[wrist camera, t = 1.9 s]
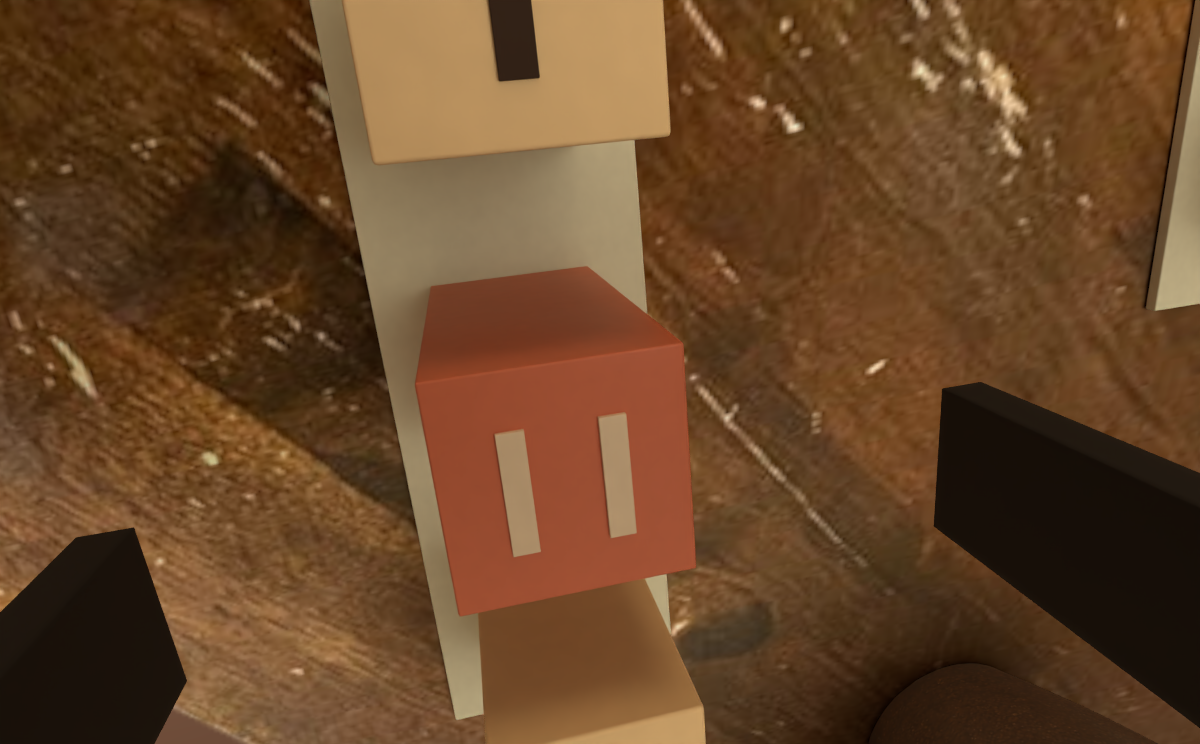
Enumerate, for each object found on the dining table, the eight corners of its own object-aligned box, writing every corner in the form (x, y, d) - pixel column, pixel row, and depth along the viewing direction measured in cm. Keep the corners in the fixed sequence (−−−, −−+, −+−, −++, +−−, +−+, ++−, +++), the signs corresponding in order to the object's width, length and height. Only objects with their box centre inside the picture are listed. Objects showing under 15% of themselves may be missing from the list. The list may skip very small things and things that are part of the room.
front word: (280, -152, 16) (75, -520, 7) (608, -160, 18) (768, -482, 9) (455, 712, 25) (458, 1027, 16) (670, 662, 26) (785, 928, 17)
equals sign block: (430, 286, 20) (413, 385, 11) (588, 265, 20) (685, 344, 12) (456, 433, 21) (458, 621, 13) (602, 409, 22) (698, 571, 13)
